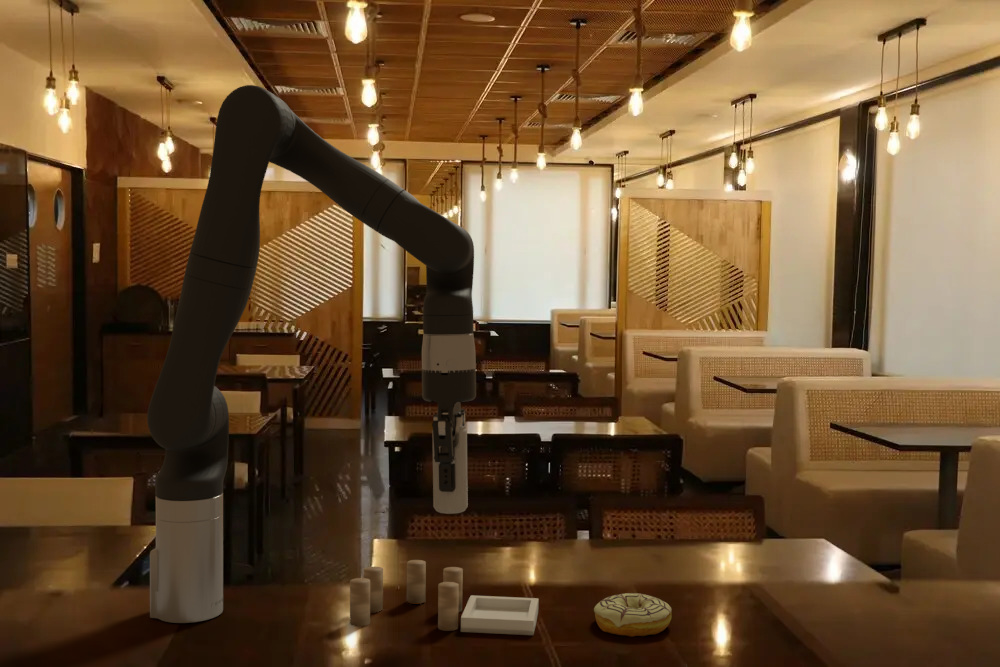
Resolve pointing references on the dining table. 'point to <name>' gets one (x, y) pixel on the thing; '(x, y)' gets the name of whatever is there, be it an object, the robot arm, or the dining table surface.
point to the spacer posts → (370, 594)
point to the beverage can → (459, 496)
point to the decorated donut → (632, 614)
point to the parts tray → (500, 615)
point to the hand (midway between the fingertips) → (450, 486)
